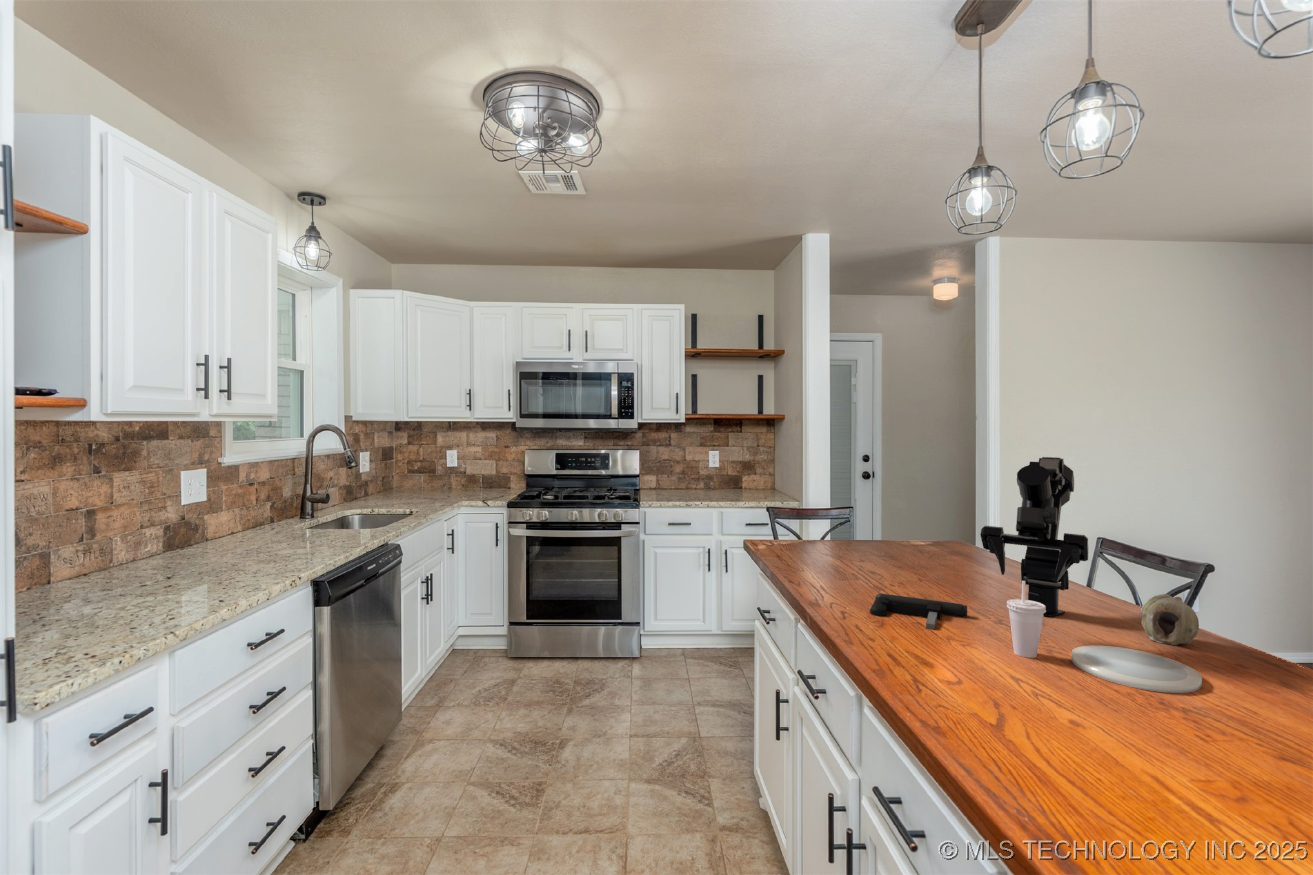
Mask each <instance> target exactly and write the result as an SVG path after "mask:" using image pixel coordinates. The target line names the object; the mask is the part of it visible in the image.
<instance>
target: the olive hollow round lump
mask: <svg viewBox="0 0 1313 875" xmlns="http://www.w3.org/2000/svg"><path fill="white" fill-rule="evenodd" d="M1140 613H1141V615H1142V616H1141V626H1142V627H1143V630H1144V631H1145V632H1144V633H1145V634H1146V636H1147V637H1149V640H1152V641H1153V642H1156V643H1158V644H1166V645H1171V646H1179V645H1189V644H1191V643H1192V642H1193V640H1194V639H1195V638H1196V637H1198V635H1199V630H1200V624H1199V618H1198V615H1197V613H1196V612H1195V610H1194V609H1193V608H1192V607H1191V606H1189V605H1188V604H1187V603H1185V602H1184V601H1183V599H1182V597H1180V596H1174V597H1173V596H1171V595H1169V594H1167V593H1162V594H1157V595H1154V596H1152V597H1151V598H1149V599H1148V600H1147V601H1146V602H1145V603H1144V604H1143V605H1142V607H1141V609H1140Z"/></svg>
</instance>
